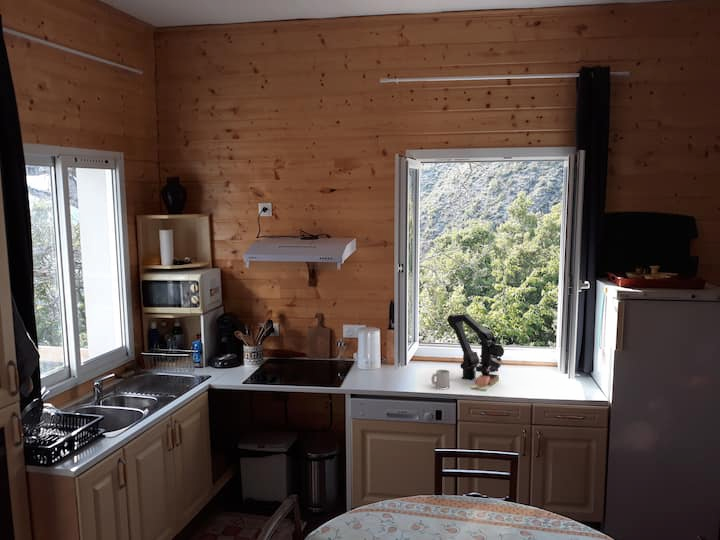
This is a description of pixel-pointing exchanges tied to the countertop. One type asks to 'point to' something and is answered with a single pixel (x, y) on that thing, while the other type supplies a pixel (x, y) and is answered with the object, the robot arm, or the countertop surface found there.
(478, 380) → the block
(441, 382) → the cup
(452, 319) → the robot arm
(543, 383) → the countertop surface
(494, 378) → the wooden tray
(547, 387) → the countertop surface
